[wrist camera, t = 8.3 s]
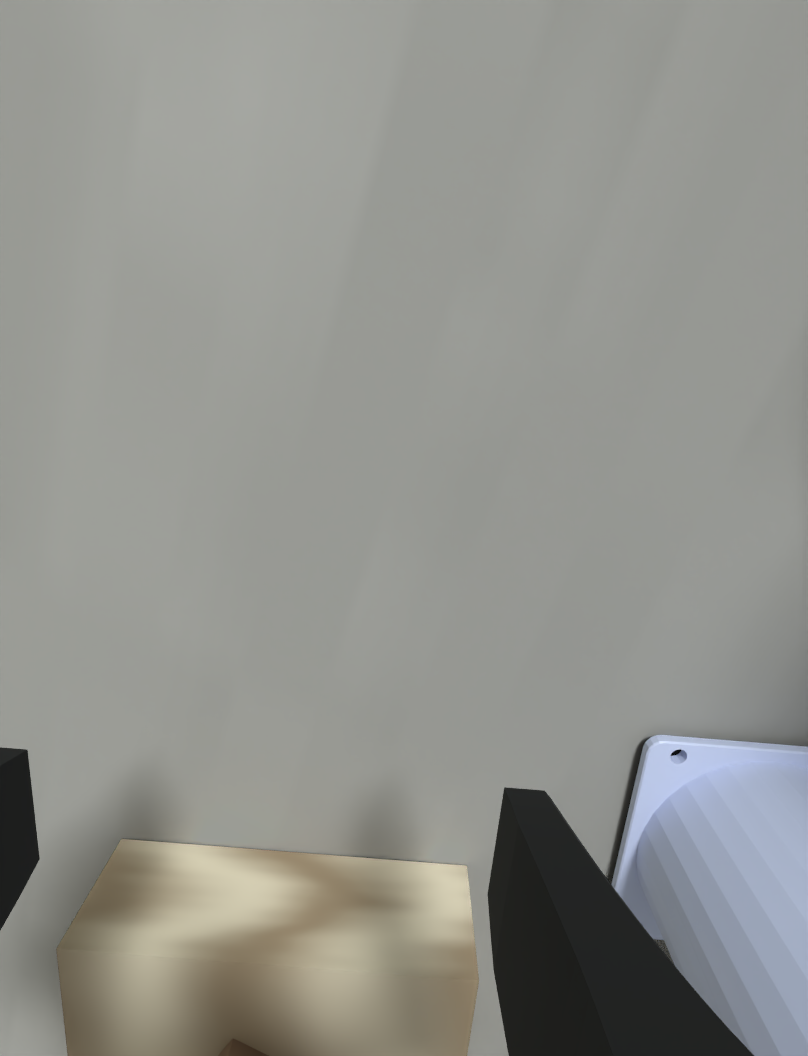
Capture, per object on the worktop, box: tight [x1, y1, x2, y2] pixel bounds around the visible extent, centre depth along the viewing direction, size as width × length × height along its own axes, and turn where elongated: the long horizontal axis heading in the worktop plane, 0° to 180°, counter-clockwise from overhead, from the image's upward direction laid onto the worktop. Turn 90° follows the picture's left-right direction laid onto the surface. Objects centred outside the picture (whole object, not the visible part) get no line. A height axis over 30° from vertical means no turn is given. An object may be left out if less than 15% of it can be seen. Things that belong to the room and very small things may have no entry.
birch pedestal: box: [56, 839, 479, 1056], centre depth 21 cm, size 12×12×4 cm
